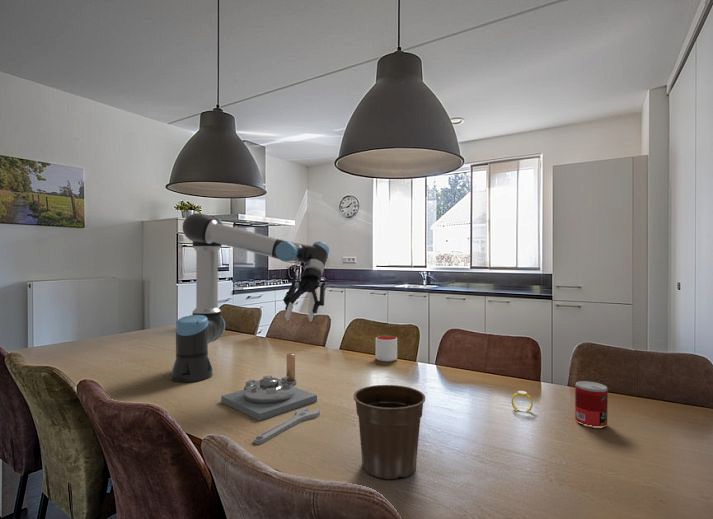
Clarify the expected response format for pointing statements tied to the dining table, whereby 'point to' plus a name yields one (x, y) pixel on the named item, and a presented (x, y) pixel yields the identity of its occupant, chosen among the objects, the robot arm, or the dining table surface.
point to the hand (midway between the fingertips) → (298, 318)
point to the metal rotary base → (272, 386)
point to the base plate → (268, 410)
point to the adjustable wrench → (287, 424)
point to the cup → (386, 348)
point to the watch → (522, 395)
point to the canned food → (591, 403)
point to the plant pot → (389, 429)
